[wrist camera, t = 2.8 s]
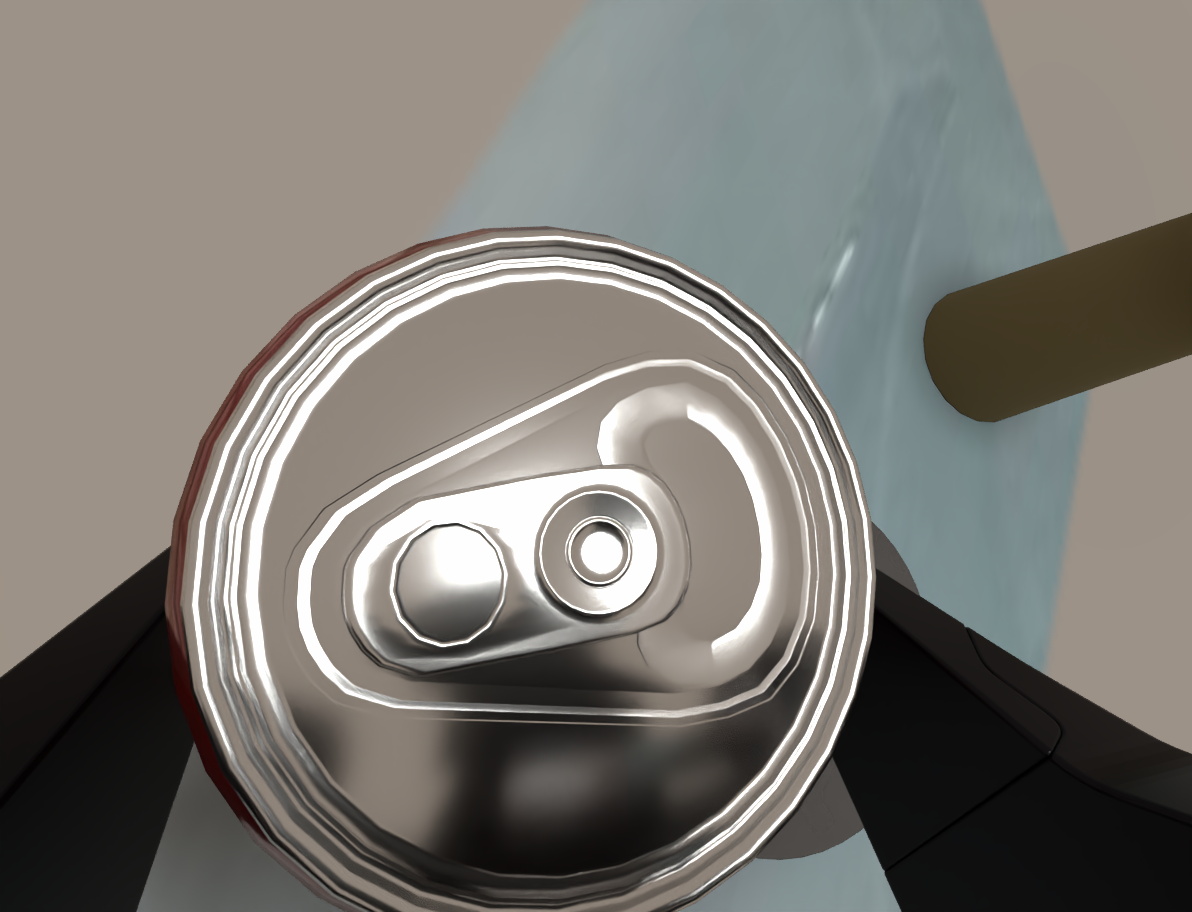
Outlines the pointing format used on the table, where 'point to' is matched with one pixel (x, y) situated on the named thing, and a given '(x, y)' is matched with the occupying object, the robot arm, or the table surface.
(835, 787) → the flange plate
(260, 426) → the soda can
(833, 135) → the table surface
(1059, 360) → the cork
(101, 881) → the robot arm
